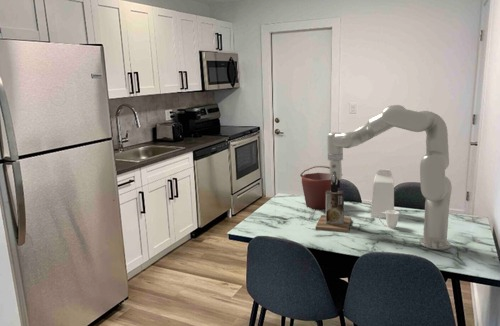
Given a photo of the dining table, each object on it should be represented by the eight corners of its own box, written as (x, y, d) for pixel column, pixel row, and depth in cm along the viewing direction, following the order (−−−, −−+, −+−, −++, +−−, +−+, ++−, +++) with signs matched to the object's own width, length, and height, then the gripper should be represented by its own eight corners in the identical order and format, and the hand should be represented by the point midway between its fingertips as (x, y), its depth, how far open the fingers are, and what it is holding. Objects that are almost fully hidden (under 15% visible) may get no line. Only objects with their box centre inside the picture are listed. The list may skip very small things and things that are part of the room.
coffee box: (342, 220, 203) (343, 190, 200) (343, 224, 197) (344, 193, 194) (325, 219, 204) (325, 190, 202) (325, 223, 198) (326, 193, 195)
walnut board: (348, 232, 189) (348, 229, 189) (315, 229, 194) (315, 226, 194) (351, 219, 208) (351, 217, 207) (321, 217, 213) (321, 214, 213)
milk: (370, 217, 212) (372, 170, 208) (371, 211, 223) (373, 167, 219) (394, 218, 208) (396, 171, 204) (393, 212, 219) (395, 167, 215)
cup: (396, 230, 190) (397, 214, 189) (376, 226, 196) (376, 211, 195) (400, 226, 196) (401, 211, 194) (381, 223, 202) (382, 208, 200)
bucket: (345, 204, 238) (346, 164, 234) (333, 213, 219) (334, 170, 215) (308, 199, 250) (308, 161, 246) (294, 208, 231) (294, 167, 227)
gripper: (341, 159, 186) (341, 194, 188) (344, 154, 202) (344, 186, 204) (325, 159, 188) (325, 193, 191) (329, 154, 204) (330, 186, 207)
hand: (335, 189), depth 197 cm, fingers open, 9 cm apart
